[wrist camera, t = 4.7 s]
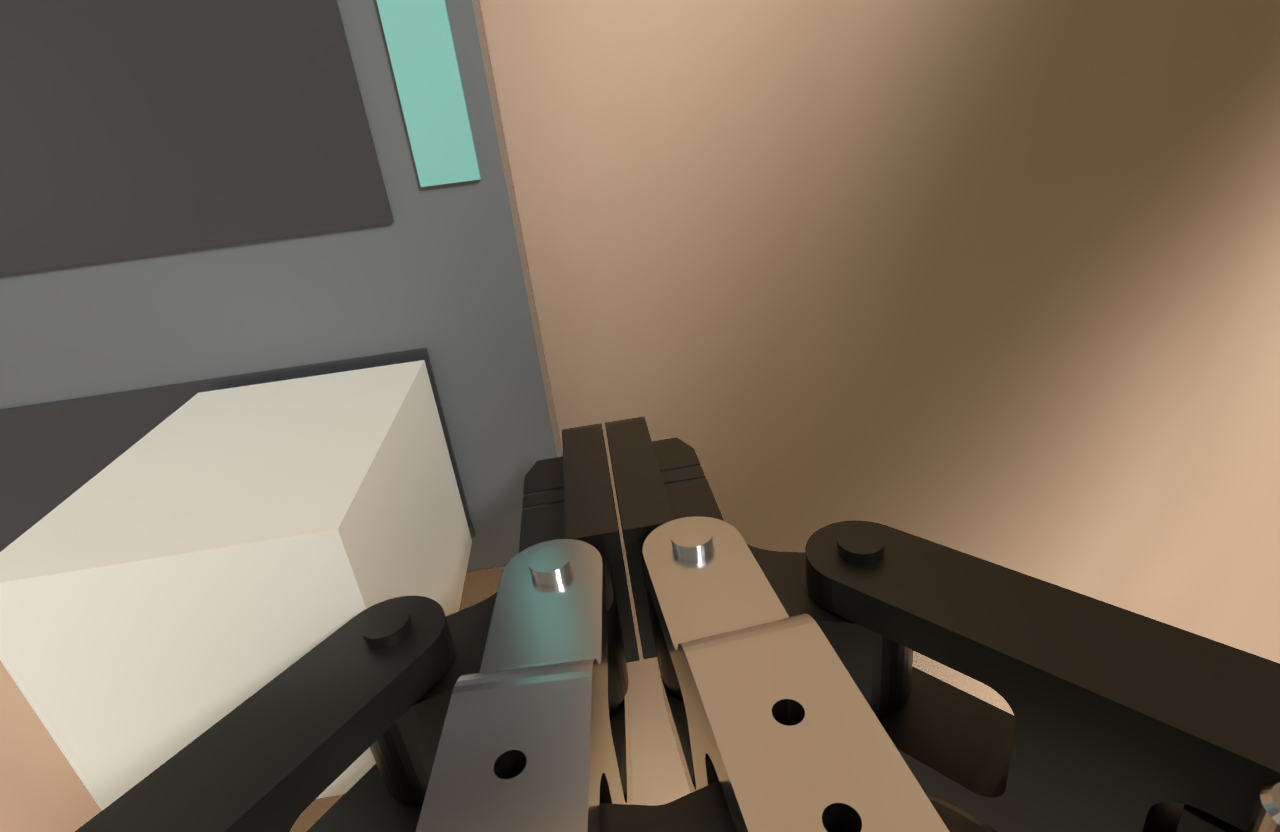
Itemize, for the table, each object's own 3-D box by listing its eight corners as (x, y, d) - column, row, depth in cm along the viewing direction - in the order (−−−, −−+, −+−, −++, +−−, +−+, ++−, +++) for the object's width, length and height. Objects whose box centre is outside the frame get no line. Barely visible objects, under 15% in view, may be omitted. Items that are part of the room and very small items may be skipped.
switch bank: (335, -780, 8) (288, -974, 7) (573, 514, 16) (575, 556, 15) (-1030, -708, 8) (-1432, -915, 6) (-82, 619, 16) (-151, 675, 14)
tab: (424, 360, 12) (338, 529, 7) (472, 541, 14) (427, 779, 9) (198, 392, 12) (-47, 589, 7) (274, 573, 14) (118, 834, 9)
